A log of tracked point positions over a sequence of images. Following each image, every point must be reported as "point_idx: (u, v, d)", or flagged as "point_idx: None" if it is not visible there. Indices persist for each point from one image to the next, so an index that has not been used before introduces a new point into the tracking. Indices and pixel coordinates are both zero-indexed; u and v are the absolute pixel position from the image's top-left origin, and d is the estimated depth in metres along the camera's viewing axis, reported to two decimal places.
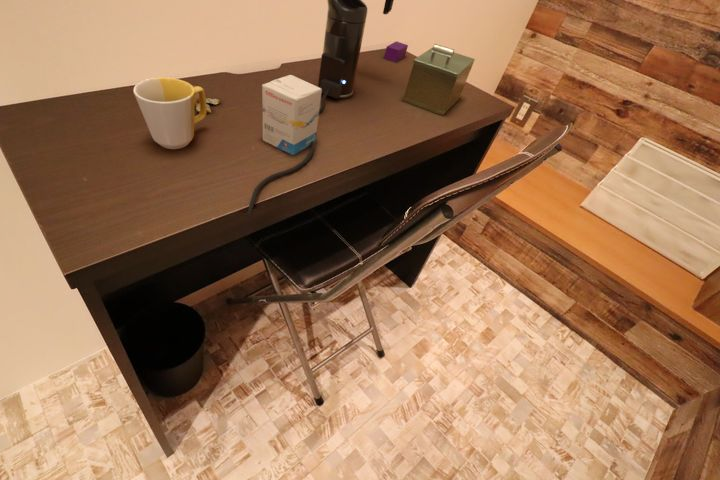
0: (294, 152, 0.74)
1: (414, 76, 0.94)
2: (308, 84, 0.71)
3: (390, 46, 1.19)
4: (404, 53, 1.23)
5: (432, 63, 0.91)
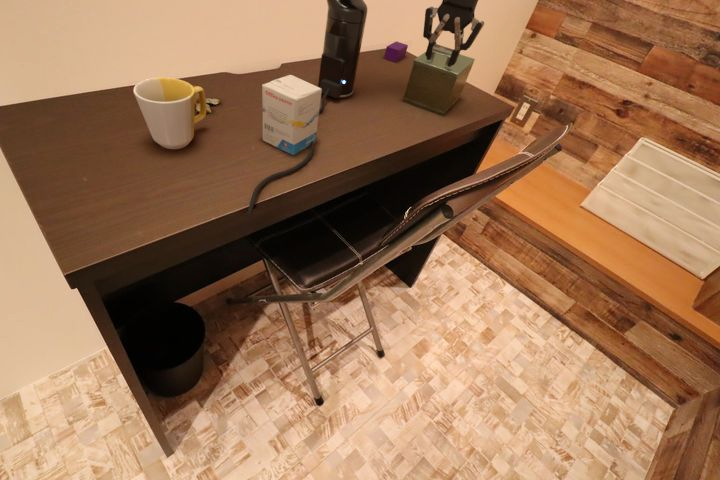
0: (294, 152, 0.74)
1: (414, 76, 0.94)
2: (308, 84, 0.71)
3: (390, 46, 1.19)
4: (404, 53, 1.23)
5: (432, 63, 0.91)
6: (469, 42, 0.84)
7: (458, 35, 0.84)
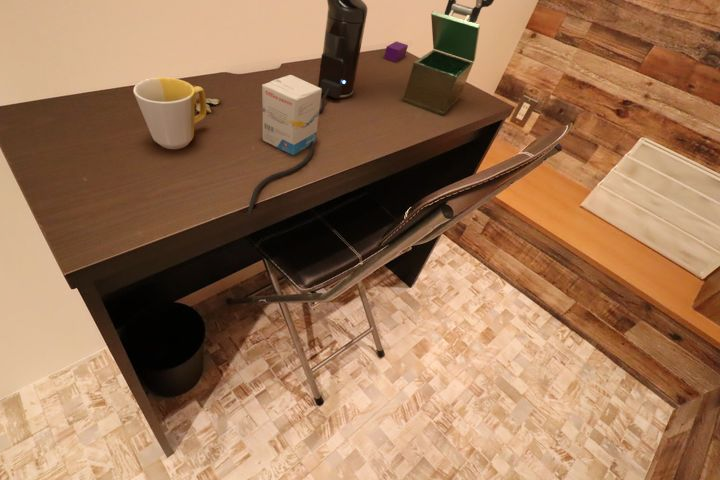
0: (294, 152, 0.74)
1: (414, 76, 0.94)
2: (308, 84, 0.71)
3: (390, 46, 1.19)
4: (404, 53, 1.23)
5: None
6: None
7: None
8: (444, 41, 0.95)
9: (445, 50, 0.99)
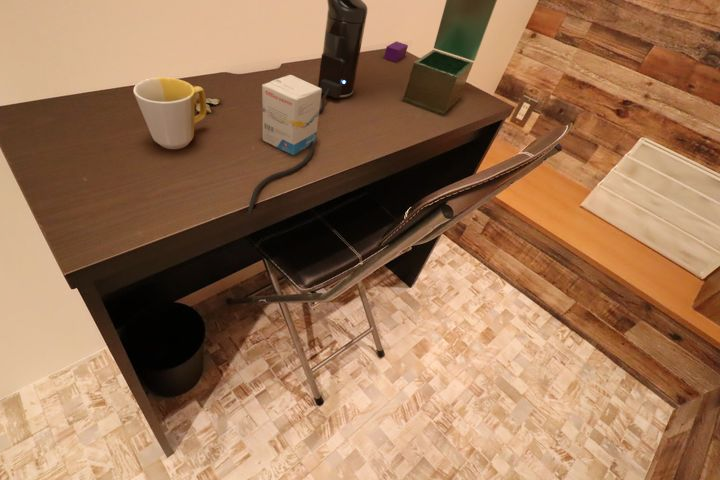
0: (294, 152, 0.74)
1: (414, 76, 0.94)
2: (308, 84, 0.71)
3: (390, 46, 1.19)
4: (404, 53, 1.23)
5: None
6: None
7: None
8: (452, 28, 0.95)
9: (447, 47, 0.99)
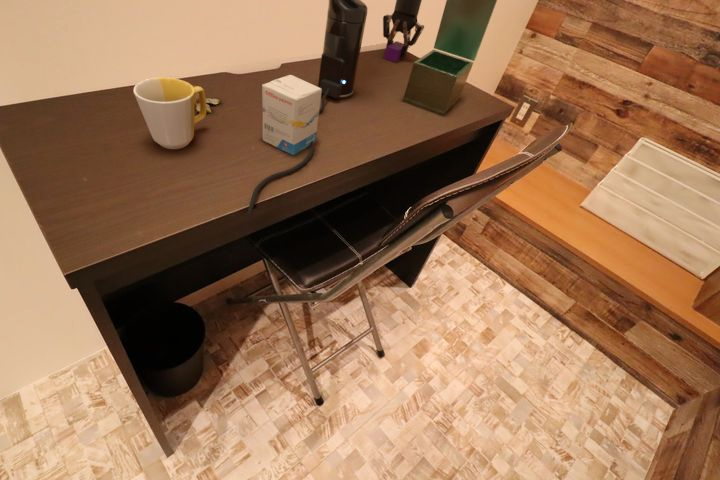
0: (294, 152, 0.74)
1: (414, 76, 0.94)
2: (308, 84, 0.71)
3: (390, 46, 1.19)
4: None
5: None
6: (413, 40, 1.16)
7: (406, 35, 1.16)
8: (452, 28, 0.95)
9: (447, 47, 0.99)
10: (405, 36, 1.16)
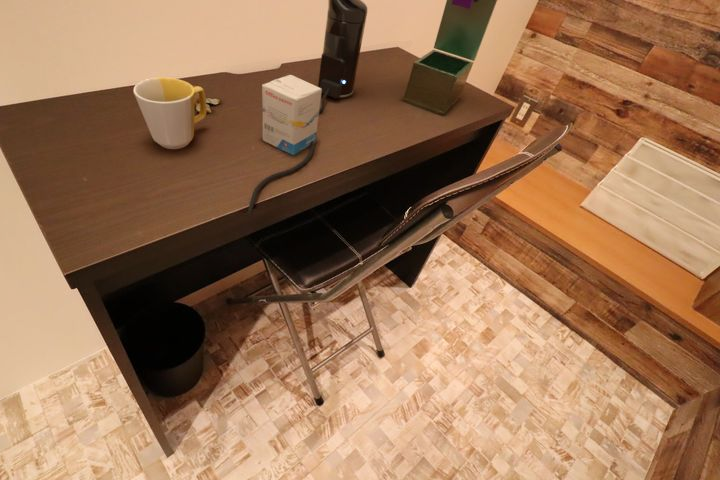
0: (294, 152, 0.74)
1: (414, 76, 0.94)
2: (308, 84, 0.71)
3: None
4: None
5: None
6: None
7: None
8: (452, 28, 0.95)
9: (447, 47, 0.99)
10: None
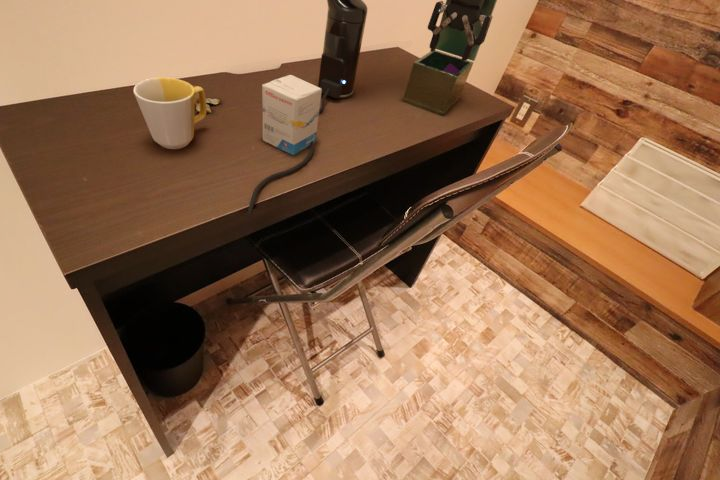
0: (294, 152, 0.74)
1: (414, 76, 0.94)
2: (308, 84, 0.71)
3: None
4: None
5: None
6: (482, 36, 0.87)
7: (469, 31, 0.87)
8: None
9: (447, 47, 0.99)
10: (468, 33, 0.88)
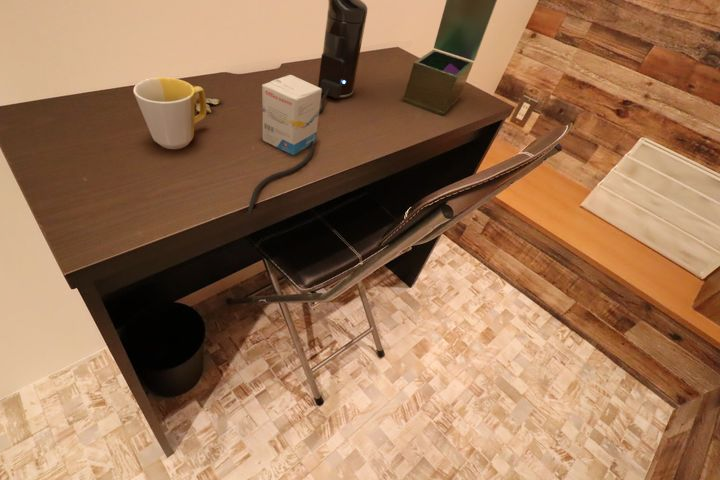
0: (294, 152, 0.74)
1: (414, 76, 0.94)
2: (308, 84, 0.71)
3: None
4: None
5: None
6: None
7: None
8: (452, 28, 0.95)
9: (447, 47, 0.99)
10: None
